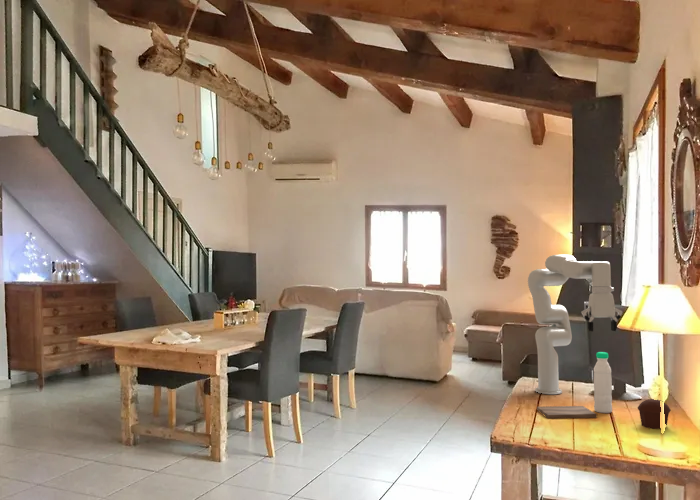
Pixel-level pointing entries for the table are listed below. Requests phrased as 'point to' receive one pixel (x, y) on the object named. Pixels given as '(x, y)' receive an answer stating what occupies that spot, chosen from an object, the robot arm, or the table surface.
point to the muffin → (652, 413)
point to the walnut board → (566, 412)
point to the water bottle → (602, 384)
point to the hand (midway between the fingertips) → (602, 330)
